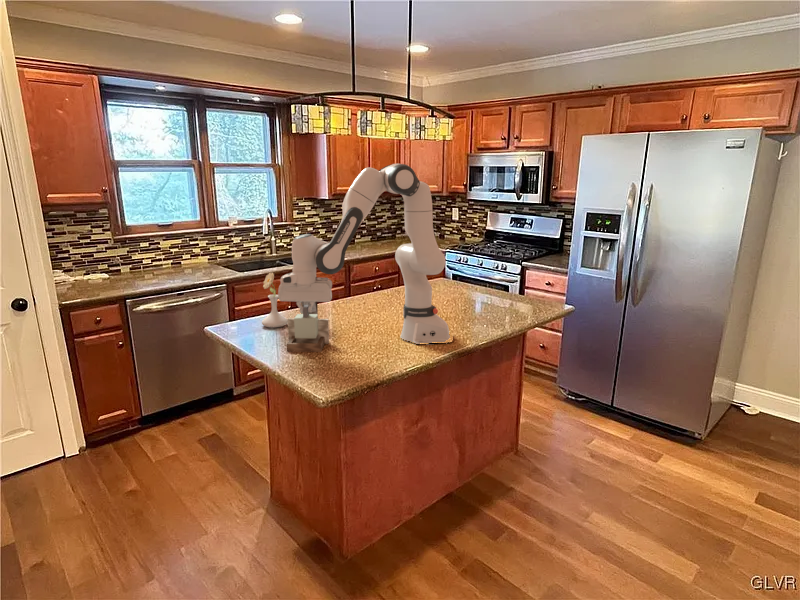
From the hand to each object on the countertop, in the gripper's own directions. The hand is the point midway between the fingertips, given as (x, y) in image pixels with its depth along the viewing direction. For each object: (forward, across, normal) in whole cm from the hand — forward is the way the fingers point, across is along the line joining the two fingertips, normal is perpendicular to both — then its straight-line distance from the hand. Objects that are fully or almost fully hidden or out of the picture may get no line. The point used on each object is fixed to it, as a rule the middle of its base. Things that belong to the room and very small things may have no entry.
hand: (305, 312), depth 183 cm
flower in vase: (+14, +19, -25) cm, 34 cm away
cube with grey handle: (+10, 0, 0) cm, 10 cm away
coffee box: (+14, +4, -27) cm, 31 cm away
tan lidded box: (+14, 0, +1) cm, 14 cm away
